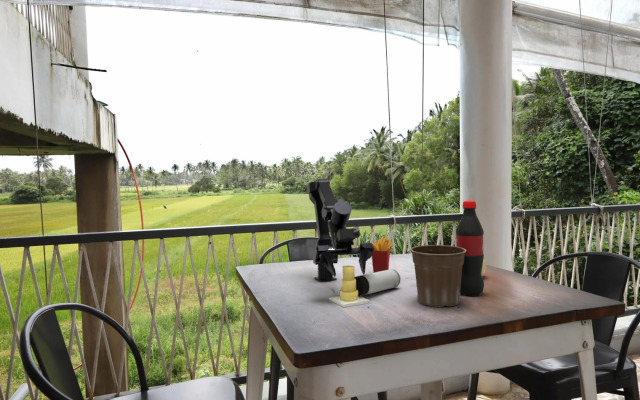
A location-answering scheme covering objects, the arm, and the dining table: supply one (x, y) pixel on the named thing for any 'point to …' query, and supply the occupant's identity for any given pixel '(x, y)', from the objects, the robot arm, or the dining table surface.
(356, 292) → the yellow domed knob
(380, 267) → the french fries
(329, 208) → the robot arm
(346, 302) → the tile
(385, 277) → the travel mug
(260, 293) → the dining table surface
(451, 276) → the plant pot
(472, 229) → the cola bottle
